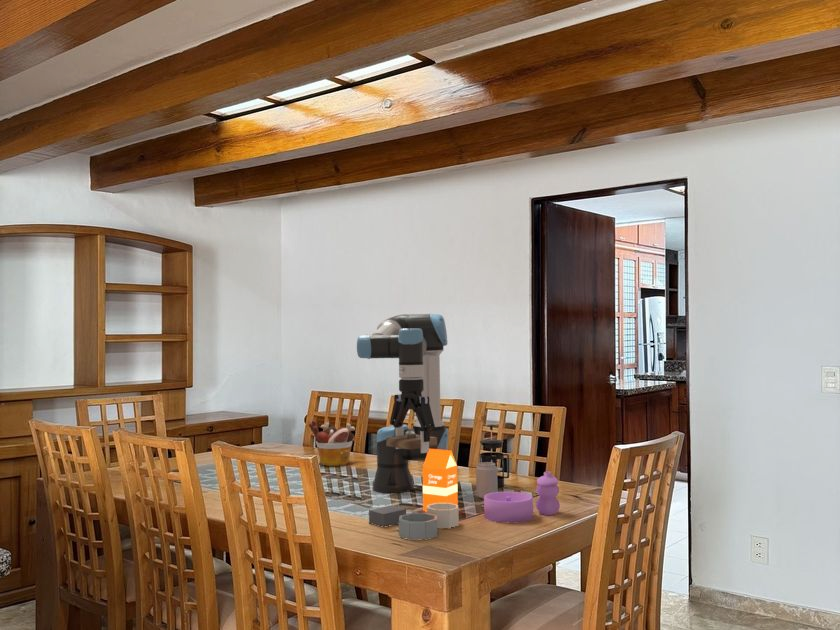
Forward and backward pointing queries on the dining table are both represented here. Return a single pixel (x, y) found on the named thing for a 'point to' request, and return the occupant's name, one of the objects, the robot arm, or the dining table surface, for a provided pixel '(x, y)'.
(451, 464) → the orange juice
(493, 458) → the french press
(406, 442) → the lid
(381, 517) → the grey rectangular block
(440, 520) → the bowl
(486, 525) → the dining table surface
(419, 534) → the grey bowl
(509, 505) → the container set
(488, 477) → the can
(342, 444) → the bucket of meat
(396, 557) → the dining table surface
